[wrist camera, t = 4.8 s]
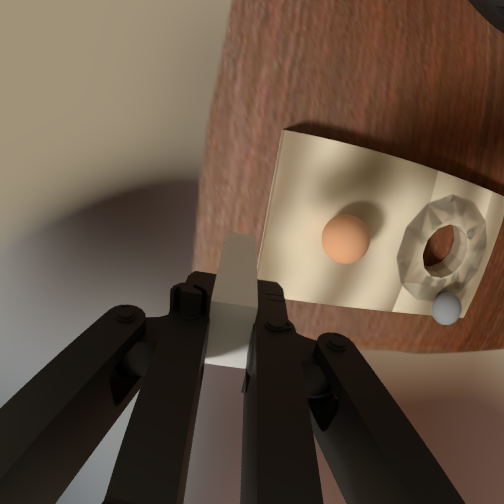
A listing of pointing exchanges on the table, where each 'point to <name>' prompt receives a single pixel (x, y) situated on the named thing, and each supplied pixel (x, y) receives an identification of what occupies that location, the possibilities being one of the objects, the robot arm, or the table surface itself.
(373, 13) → the table surface
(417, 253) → the board
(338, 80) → the table surface
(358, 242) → the orange ball
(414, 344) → the table surface
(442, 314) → the grey ball
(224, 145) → the table surface
